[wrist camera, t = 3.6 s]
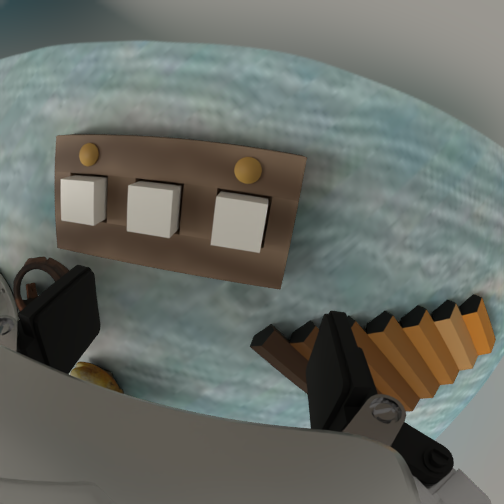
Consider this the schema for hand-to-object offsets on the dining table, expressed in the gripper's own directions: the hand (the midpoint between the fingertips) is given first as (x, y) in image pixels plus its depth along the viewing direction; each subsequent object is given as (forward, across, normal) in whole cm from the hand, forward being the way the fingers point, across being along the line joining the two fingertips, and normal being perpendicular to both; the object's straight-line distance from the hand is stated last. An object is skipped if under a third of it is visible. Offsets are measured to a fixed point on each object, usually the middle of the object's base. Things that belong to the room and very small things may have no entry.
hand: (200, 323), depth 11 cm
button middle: (+16, +7, 0) cm, 18 cm away
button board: (+18, +8, 0) cm, 20 cm away
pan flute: (+19, -20, +13) cm, 31 cm away
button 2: (+16, +15, 0) cm, 22 cm away
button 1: (+16, 0, 0) cm, 16 cm away
